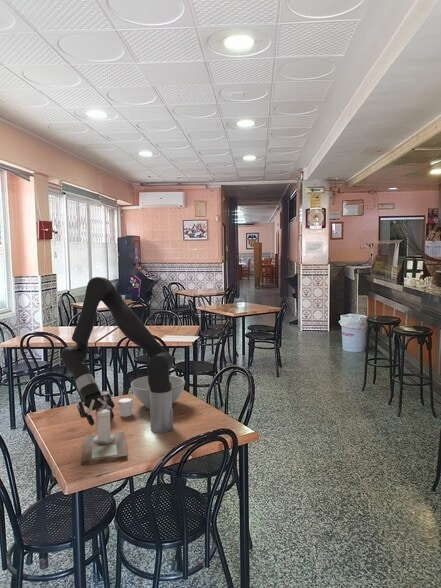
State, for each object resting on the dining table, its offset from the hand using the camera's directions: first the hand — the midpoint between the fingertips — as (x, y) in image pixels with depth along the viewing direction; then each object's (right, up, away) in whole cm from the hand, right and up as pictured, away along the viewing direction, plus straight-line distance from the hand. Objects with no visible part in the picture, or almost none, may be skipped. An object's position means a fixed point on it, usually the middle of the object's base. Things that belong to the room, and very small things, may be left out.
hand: (102, 421), depth 170 cm
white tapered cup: (+2, -6, +32) cm, 32 cm away
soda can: (-7, -7, +27) cm, 29 cm away
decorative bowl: (+16, -5, +44) cm, 47 cm away
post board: (+2, -9, -5) cm, 11 cm away
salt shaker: (0, -7, 0) cm, 7 cm away
